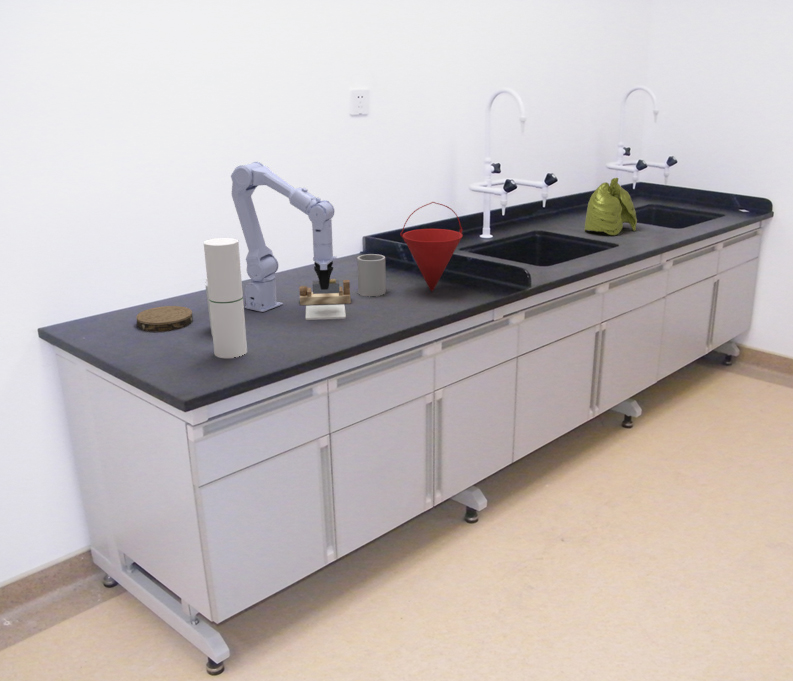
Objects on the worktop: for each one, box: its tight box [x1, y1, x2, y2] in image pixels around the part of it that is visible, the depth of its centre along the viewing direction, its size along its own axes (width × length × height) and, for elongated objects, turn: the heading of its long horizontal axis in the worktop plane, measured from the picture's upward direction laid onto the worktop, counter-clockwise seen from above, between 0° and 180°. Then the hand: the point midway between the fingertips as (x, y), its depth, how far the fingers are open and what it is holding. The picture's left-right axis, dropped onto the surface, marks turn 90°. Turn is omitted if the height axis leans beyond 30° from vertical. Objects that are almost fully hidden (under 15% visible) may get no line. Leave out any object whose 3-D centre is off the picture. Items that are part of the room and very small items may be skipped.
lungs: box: [584, 177, 638, 236], centre depth 334 cm, size 25×16×24 cm, turn 127°
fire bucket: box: [399, 201, 464, 292], centre depth 248 cm, size 22×20×30 cm
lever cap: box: [311, 278, 340, 294], centre depth 229 cm, size 8×4×4 cm, turn 95°
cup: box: [356, 253, 387, 297], centre depth 250 cm, size 9×9×12 cm
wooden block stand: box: [298, 279, 352, 306], centre depth 242 cm, size 16×6×6 cm, turn 95°
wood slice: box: [136, 305, 194, 333], centre depth 224 cm, size 16×16×3 cm
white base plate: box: [305, 304, 347, 321], centre depth 232 cm, size 12×12×1 cm
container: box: [203, 237, 248, 359], centre depth 196 cm, size 9×9×30 cm
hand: (324, 287), depth 229 cm, fingers closed on lever cap, 4 cm apart
